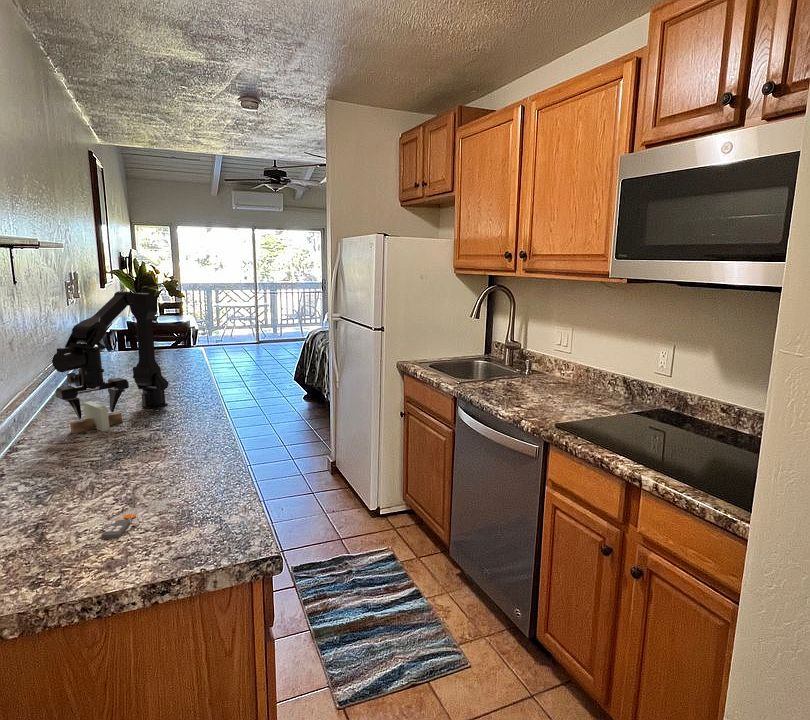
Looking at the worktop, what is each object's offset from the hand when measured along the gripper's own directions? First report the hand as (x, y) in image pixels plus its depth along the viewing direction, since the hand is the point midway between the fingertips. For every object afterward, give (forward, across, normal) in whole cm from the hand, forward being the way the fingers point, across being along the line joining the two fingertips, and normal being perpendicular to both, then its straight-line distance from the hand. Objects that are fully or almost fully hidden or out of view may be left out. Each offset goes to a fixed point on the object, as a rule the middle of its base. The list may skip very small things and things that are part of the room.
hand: (96, 415), depth 160 cm
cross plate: (+4, 0, 0) cm, 4 cm away
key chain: (+4, +22, +68) cm, 71 cm away
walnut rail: (+4, 0, 0) cm, 4 cm away
